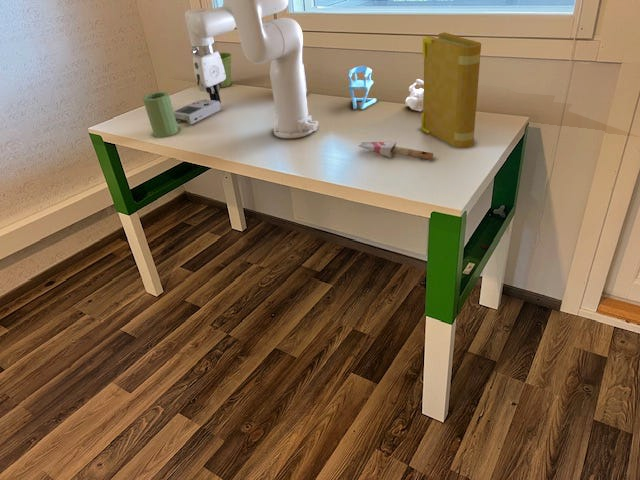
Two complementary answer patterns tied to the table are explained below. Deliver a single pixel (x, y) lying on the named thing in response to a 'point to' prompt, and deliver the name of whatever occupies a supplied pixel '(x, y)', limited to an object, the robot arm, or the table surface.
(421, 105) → the rabbit figurine
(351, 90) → the chair
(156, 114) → the cylindrical cup
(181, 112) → the handheld gaming device
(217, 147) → the table surface
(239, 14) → the robot arm
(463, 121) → the book
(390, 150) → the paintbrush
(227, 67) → the plant pot
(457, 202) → the table surface
